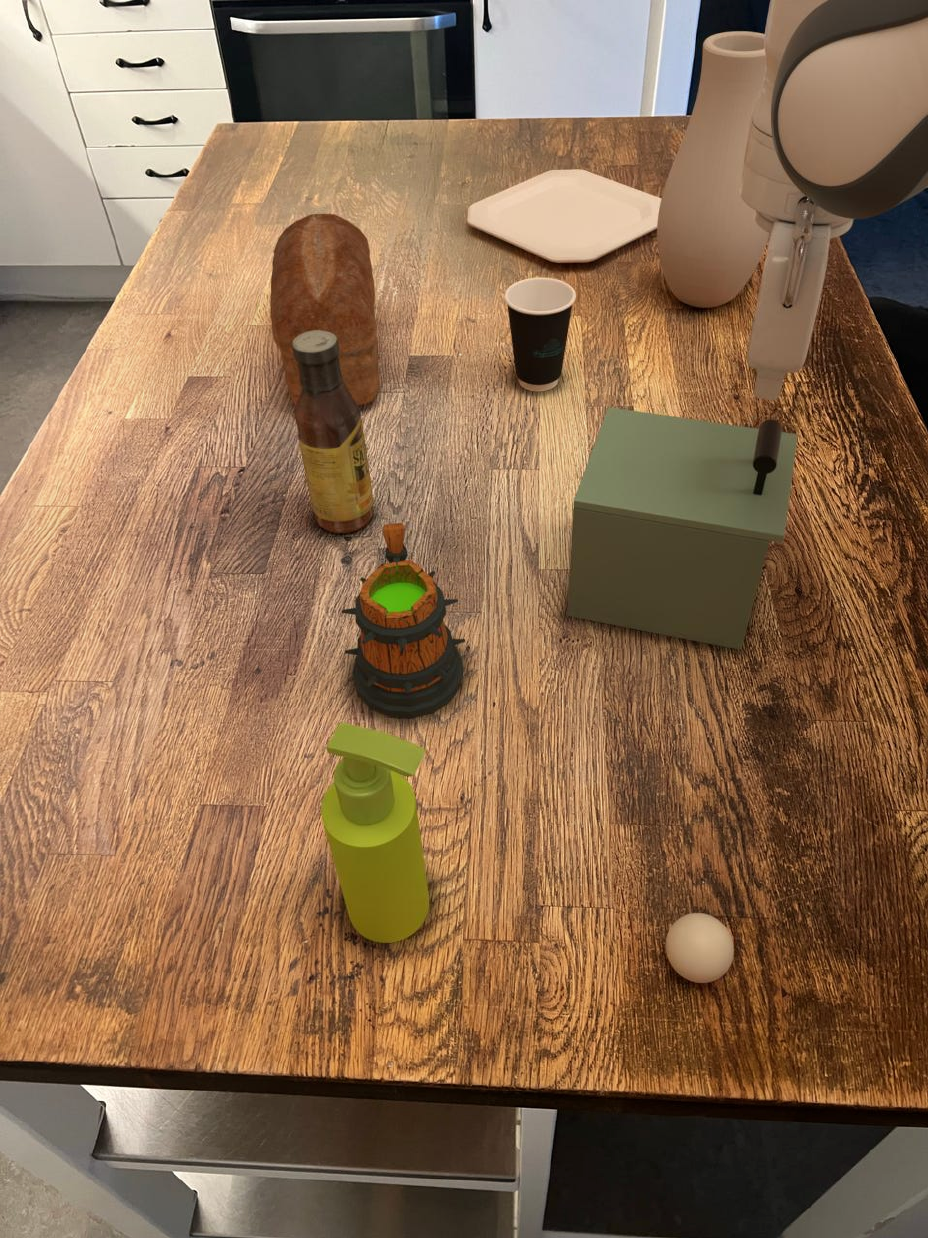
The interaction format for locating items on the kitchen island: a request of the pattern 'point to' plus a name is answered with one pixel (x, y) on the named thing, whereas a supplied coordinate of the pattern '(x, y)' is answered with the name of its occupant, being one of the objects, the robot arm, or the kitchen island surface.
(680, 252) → the vase
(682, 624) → the bin
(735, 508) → the bin lid
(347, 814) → the soap dispenser
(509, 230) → the plate
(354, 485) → the sauce bottle
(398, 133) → the kitchen island surface
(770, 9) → the robot arm
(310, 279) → the bread
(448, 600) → the mug
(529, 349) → the dixie cup
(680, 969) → the beige ball
